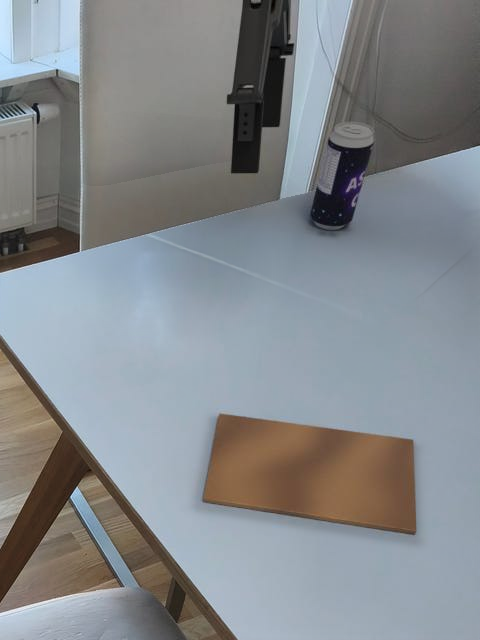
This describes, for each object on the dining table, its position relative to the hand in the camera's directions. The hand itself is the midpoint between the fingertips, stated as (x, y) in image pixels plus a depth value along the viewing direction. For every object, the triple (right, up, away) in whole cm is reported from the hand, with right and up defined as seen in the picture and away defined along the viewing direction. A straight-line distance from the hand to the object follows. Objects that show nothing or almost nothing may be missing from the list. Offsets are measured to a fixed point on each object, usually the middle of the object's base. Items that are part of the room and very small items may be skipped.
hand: (256, 148), depth 95 cm
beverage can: (+18, +5, +27) cm, 33 cm away
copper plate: (+4, -36, -5) cm, 37 cm away
